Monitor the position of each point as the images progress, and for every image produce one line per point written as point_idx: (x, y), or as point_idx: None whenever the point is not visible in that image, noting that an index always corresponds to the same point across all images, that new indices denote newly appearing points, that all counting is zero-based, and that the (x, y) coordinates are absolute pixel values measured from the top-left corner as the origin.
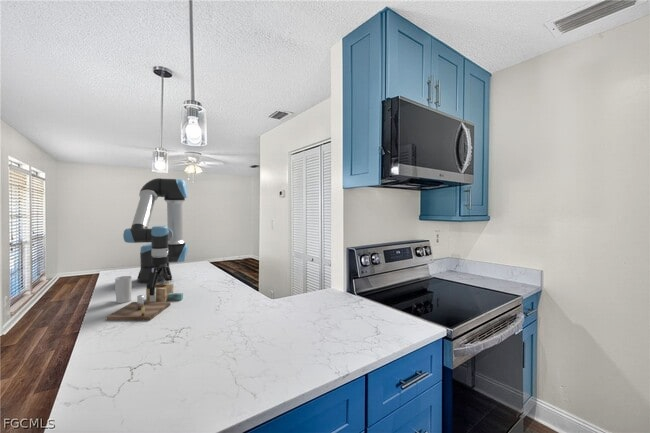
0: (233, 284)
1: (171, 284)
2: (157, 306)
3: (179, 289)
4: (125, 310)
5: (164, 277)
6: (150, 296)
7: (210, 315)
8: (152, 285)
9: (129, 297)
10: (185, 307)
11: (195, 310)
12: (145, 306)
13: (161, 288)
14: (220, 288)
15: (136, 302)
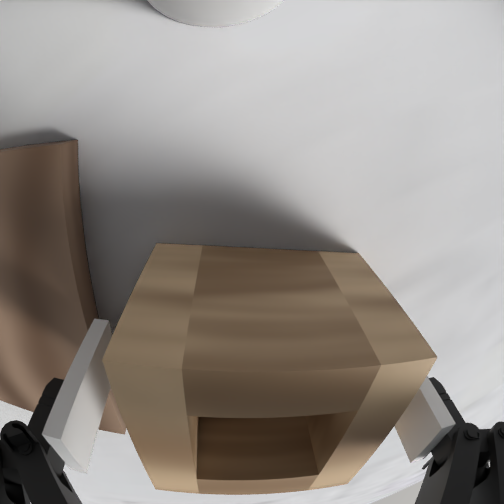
0: (423, 473)
1: (319, 486)
2: (36, 391)
3: (474, 341)
4: None
5: (438, 488)
6: (78, 363)
7: (82, 490)
8: (12, 493)
9: (189, 12)
10: (118, 459)
11: (101, 476)
12: (6, 327)
13: (159, 477)
14: (392, 472)
15: (46, 202)
